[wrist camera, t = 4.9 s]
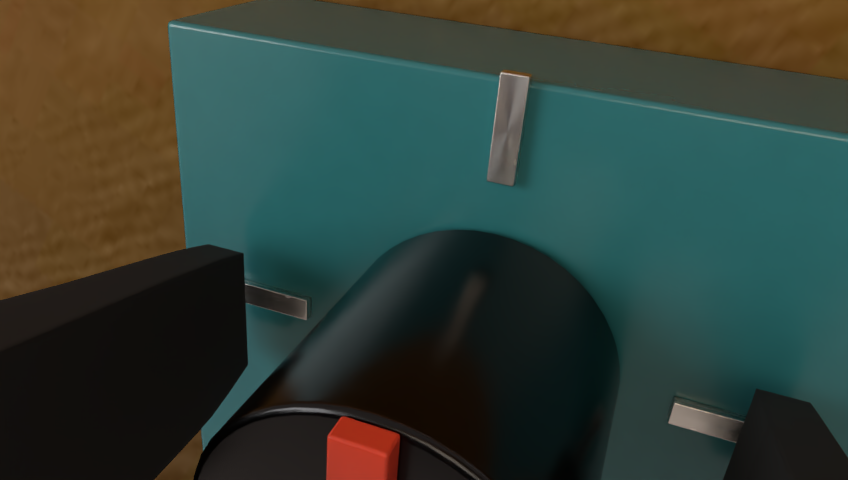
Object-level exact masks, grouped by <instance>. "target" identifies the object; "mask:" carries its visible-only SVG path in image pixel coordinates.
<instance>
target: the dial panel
mask: <svg viewBox="0 0 848 480" xmlns="http://www.w3.org/2000/svg"><path fill="white" fill-rule="evenodd" d="M168 34H169V46H170V58H171V70H172V82H173V94H174V106H175V118H176V130H177V142H178V155H179V167H180V179H181V191H182V203H183V215H184V227H185V239H186V249H187V248H191V247H196V246H201V245H207V244H210V245H214V246H218V247H222V248H225V249H229V250H233V251H237V252H241V253H244V276H245V300H246V325H247V349H248V366H247V367H246V369H245V370H244V372H243V373H242V374H241V376H240V377H239V379H238V380H237V382H236V383H235V385H234V386H233V388H232V389H231V391H230V392H229V394H228V395H227V397H226V398H225V399H224V401H223V402H222V403H221V405H220V406H219V407H218V409H217V410H216V412H215V413H214V414H213V416H212V417H211V418H210V419H209V420H208V422H207V423H206V424H205V425H204V426H203V427H202V428H201V433H202V445H203V451H204V449H205V447H206V446H207V444H208V442H209V441H210V439H211V438H212V437H213V436H214V435H215V434H216V433H217V432H218V431H219V430H220V429H221V427H222V426H223V425H224V424H225V423H226V422H227V421H228V420H229V419H230V418H231V417H232V416H233V414H234V413H235V412H236V411H237V410H238V409H239V408H240V407H241V406H242V405H243V404H244V403H245V401H246V400H247V399H248V398H249V397H250V396H251V395H252V394H253V393H254V392H255V391H256V390H257V389H258V387H259V386H260V385H261V384H262V383H263V382H264V381H265V380H266V379H267V378H268V377H269V376H270V374H271V373H272V372H273V371H274V370H275V369H276V368H277V367H278V366H279V365H280V364H281V363H282V361H283V360H284V359H285V358H286V357H287V356H288V355H289V354H290V353H291V352H292V351H293V350H294V348H295V347H296V346H297V345H298V344H299V343H300V342H301V341H302V340H303V339H304V338H305V337H306V335H307V334H308V333H309V332H310V331H311V330H312V329H313V328H314V327H315V326H316V325H317V324H318V323H319V321H320V320H321V319H322V318H323V317H324V316H325V315H326V314H327V313H328V312H329V311H330V310H331V308H332V307H333V306H334V305H335V304H336V303H337V302H338V301H339V300H340V299H341V298H342V297H343V295H344V294H345V293H346V292H347V291H348V290H349V289H350V288H351V287H352V286H353V285H354V284H355V282H356V281H357V280H358V279H359V278H360V277H361V276H362V275H363V274H364V273H365V272H366V271H367V270H368V268H369V267H370V266H371V265H372V264H373V263H374V262H375V261H376V260H377V259H378V258H379V257H380V256H381V255H383V254H384V253H385V252H386V251H388V250H389V249H390V248H392V247H394V246H396V245H397V244H399V243H401V242H403V241H405V240H408V239H410V238H413V237H416V236H418V235H422V234H426V233H431V232H435V231H444V230H476V231H482V232H488V233H494V234H497V235H501V236H504V237H508V238H511V239H514V240H516V241H519V242H521V243H523V244H526V245H528V246H530V247H532V248H534V249H536V250H538V251H540V252H541V253H543V254H545V255H547V256H548V257H550V258H551V259H553V260H554V261H555V262H557V263H558V264H559V265H561V266H562V267H564V268H565V269H566V270H567V271H568V272H569V273H570V274H571V275H572V276H574V277H575V278H576V279H577V280H578V281H579V282H580V283H581V284H582V286H583V287H584V288H585V289H586V290H587V291H588V293H589V294H590V295H591V296H592V297H593V299H594V300H595V302H596V304H597V305H598V307H599V308H600V310H601V311H602V313H603V314H604V316H605V318H606V320H607V323H608V325H609V327H610V329H611V331H612V334H613V337H614V340H615V343H616V347H617V351H618V357H619V364H620V384H619V390H618V396H617V401H616V406H615V411H614V416H613V421H612V426H611V431H610V437H609V442H608V447H607V452H606V457H605V462H604V467H603V472H602V477H601V480H723V478H724V475H725V473H726V470H727V467H728V465H729V462H730V459H731V456H732V454H733V451H734V448H735V445H736V443H737V440H738V437H739V435H740V432H741V429H742V426H743V424H744V421H745V418H746V415H747V413H748V410H749V407H750V404H751V402H752V399H753V396H754V394H755V391H756V388H757V389H760V390H764V391H768V392H772V393H776V394H779V395H783V396H787V397H791V398H795V399H798V400H802V401H806V402H810V403H811V404H812V405H813V407H814V408H815V410H816V411H817V412H818V414H819V415H820V417H821V418H822V420H823V421H824V423H825V424H826V426H827V427H828V429H829V430H830V432H831V433H832V435H833V436H834V438H835V439H836V441H837V442H838V444H839V445H840V447H841V448H842V450H843V451H844V453H845V454H846V455H847V457H848V80H842V79H836V78H829V77H822V76H816V75H809V74H802V73H796V72H789V71H782V70H776V69H769V68H762V67H756V66H749V65H742V64H736V63H729V62H722V61H716V60H709V59H702V58H696V57H689V56H682V55H676V54H669V53H662V52H656V51H649V50H642V49H635V48H629V47H622V46H615V45H609V44H602V43H595V42H589V41H582V40H575V39H569V38H562V37H555V36H549V35H542V34H535V33H529V32H522V31H515V30H509V29H502V28H495V27H489V26H482V25H475V24H469V23H462V22H455V21H449V20H442V19H435V18H429V17H422V16H415V15H409V14H402V13H395V12H389V11H382V10H375V9H368V8H362V7H355V6H348V5H342V4H335V3H328V2H322V1H315V0H256V1H252V2H247V3H243V4H239V5H235V6H231V7H226V8H222V9H218V10H214V11H209V12H205V13H201V14H197V15H193V16H188V17H184V18H180V19H176V20H172V21H170V22H169V23H168Z"/></svg>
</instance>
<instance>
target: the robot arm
mask: <svg viewBox="0 0 848 480" xmlns="http://www.w3.org/2000/svg"><path fill="white" fill-rule="evenodd" d="M247 366H248V349H247V325H246V300H245V276H244V253H241V252H237V251H233V250H229V249H225V248H222V247H218V246H214V245H210V244H207V245H201V246H196V247H191V248H187V249H183V250H179V251H175V252H171V253H167V254H163V255H160V256H156V257H153V258H149V259H146V260H142V261H139V262H136V263H132V264H129V265H125V266H122V267H119V268H115V269H112V270H108V271H105V272H102V273H98V274H95V275H91V276H88V277H85V278H81V279H78V280H74V281H71V282H68V283H64V284H61V285H57V286H53V287H49V288H46V289H42V290H38V291H34V292H30V293H27V294H23V295H19V296H15V297H12V298H8V299H4V300H0V480H154V479H155V478H156V477H157V476H158V475H159V474H160V473H161V471H162V470H163V469H164V468H165V467H166V466H167V465H168V464H169V463H170V462H171V461H172V460H173V459H174V458H175V457H176V455H177V454H178V453H179V452H180V451H181V450H182V449H183V448H184V447H185V446H186V445H187V444H188V442H189V441H190V440H191V439H192V438H193V437H194V436H195V435H196V434H197V433H198V432H199V430H200V429H201V428H202V427H203V426H204V425H205V424H206V423H207V422H208V420H209V419H210V418H211V417H212V416H213V414H214V413H215V412H216V410H217V409H218V407H219V406H220V405H221V403H222V402H223V401H224V399H225V398H226V397H227V395H228V394H229V392H230V391H231V389H232V388H233V386H234V385H235V383H236V382H237V380H238V379H239V377H240V376H241V374H242V373H243V372H244V370H245V369H246V367H247ZM723 480H848V457H847V455H846V454H845V453H844V451H843V450H842V448H841V447H840V445H839V444H838V442H837V441H836V439H835V438H834V436H833V435H832V433H831V432H830V430H829V429H828V427H827V426H826V424H825V423H824V421H823V420H822V418H821V417H820V415H819V414H818V412H817V411H816V410H815V408H814V407H813V405H812V404H811V403H810V402H806V401H802V400H798V399H795V398H791V397H787V396H783V395H779V394H776V393H772V392H768V391H764V390H760V389H757V388H756V391H755V394H754V396H753V399H752V402H751V404H750V407H749V410H748V413H747V415H746V418H745V421H744V424H743V426H742V429H741V432H740V435H739V437H738V440H737V443H736V445H735V448H734V451H733V454H732V456H731V459H730V462H729V465H728V467H727V470H726V473H725V475H724V478H723Z"/></svg>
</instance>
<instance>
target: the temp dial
mask: <svg viewBox="0 0 848 480" xmlns="http://www.w3.org/2000/svg"><path fill="white" fill-rule="evenodd" d="M619 384H620V364H619V357H618V351H617V347H616V343H615V340H614V337H613V334H612V331H611V329H610V327H609V325H608V323H607V320H606V318H605V316H604V314H603V313H602V311H601V310H600V308H599V307H598V305H597V304H596V302H595V300H594V299H593V297H592V296H591V295H590V294H589V293H588V291H587V290H586V289H585V288H584V287H583V286H582V284H581V283H580V282H579V281H578V280H577V279H576V278H575V277H574V276H572V275H571V274H570V273H569V272H568V271H567V270H566V269H565V268H564V267H562V266H561V265H559V264H558V263H557V262H555V261H554V260H553V259H551V258H550V257H548V256H547V255H545V254H543V253H541V252H540V251H538V250H536V249H534V248H532V247H530V246H528V245H526V244H523V243H521V242H519V241H516V240H514V239H511V238H508V237H504V236H501V235H497V234H494V233H488V232H482V231H476V230H444V231H435V232H431V233H426V234H422V235H418V236H416V237H413V238H410V239H408V240H405V241H403V242H401V243H399V244H397V245H396V246H394V247H392V248H390V249H389V250H388V251H386V252H385V253H384V254H383V255H381V256H380V257H379V258H378V259H377V260H376V261H375V262H374V263H373V264H372V265H371V266H370V267H369V268H368V270H367V271H366V272H365V273H364V274H363V275H362V276H361V277H360V278H359V279H358V280H357V281H356V282H355V284H354V285H353V286H352V287H351V288H350V289H349V290H348V291H347V292H346V293H345V294H344V295H343V297H342V298H341V299H340V300H339V301H338V302H337V303H336V304H335V305H334V306H333V307H332V308H331V310H330V311H329V312H328V313H327V314H326V315H325V316H324V317H323V318H322V319H321V320H320V321H319V323H318V324H317V325H316V326H315V327H314V328H313V329H312V330H311V331H310V332H309V333H308V334H307V335H306V337H305V338H304V339H303V340H302V341H301V342H300V343H299V344H298V345H297V346H296V347H295V348H294V350H293V351H292V352H291V353H290V354H289V355H288V356H287V357H286V358H285V359H284V360H283V361H282V363H281V364H280V365H279V366H278V367H277V368H276V369H275V370H274V371H273V372H272V373H271V374H270V376H269V377H268V378H267V379H266V380H265V381H264V382H263V383H262V384H261V385H260V386H259V387H258V389H257V390H256V391H255V392H254V393H253V394H252V395H251V396H250V397H249V398H248V399H247V400H246V401H245V403H244V404H243V405H242V406H241V407H240V408H239V409H238V410H237V411H236V412H235V413H234V414H233V416H232V417H231V418H230V419H229V420H228V421H227V422H226V423H225V424H224V425H223V426H222V427H221V429H220V430H219V431H218V432H217V433H216V434H215V435H214V436H213V437H212V438H211V439H210V441H209V442H208V444H207V446H206V447H205V449H204V451H203V452H202V454H201V457H200V460H199V463H198V465H197V468H196V471H195V475H194V480H601V477H602V472H603V467H604V462H605V457H606V452H607V447H608V442H609V437H610V431H611V426H612V421H613V416H614V411H615V406H616V401H617V396H618V390H619Z"/></svg>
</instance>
